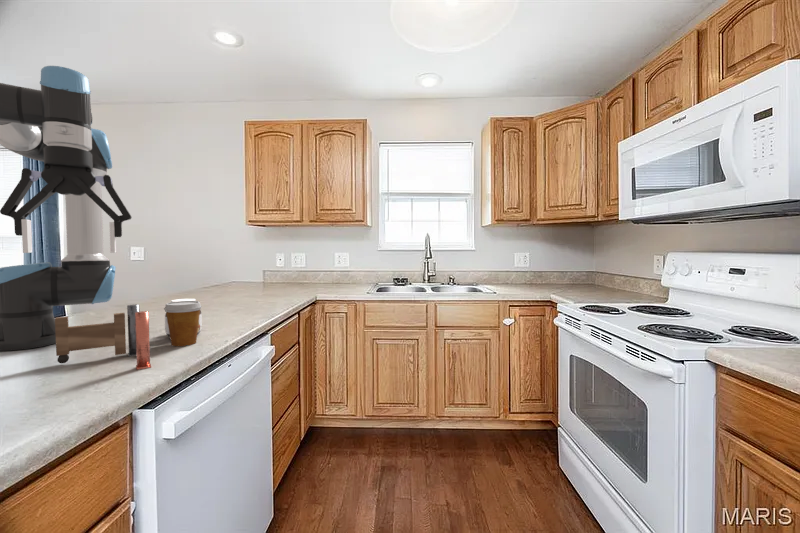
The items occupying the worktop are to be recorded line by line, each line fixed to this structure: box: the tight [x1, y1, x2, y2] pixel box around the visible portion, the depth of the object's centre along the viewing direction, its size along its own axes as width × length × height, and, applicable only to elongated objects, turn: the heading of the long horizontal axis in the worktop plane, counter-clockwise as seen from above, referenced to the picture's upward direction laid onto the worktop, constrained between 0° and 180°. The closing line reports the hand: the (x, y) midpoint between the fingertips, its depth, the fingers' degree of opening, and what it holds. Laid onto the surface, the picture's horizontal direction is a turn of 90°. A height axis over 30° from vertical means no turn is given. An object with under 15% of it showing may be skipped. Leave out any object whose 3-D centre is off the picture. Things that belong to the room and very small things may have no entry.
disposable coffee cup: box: [163, 300, 202, 347], centre depth 110 cm, size 10×10×12 cm
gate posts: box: [126, 304, 152, 371], centre depth 93 cm, size 17×4×13 cm, turn 38°
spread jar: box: [164, 298, 203, 338], centre depth 120 cm, size 12×11×12 cm
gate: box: [54, 312, 127, 364], centre depth 93 cm, size 2×13×11 cm, turn 128°
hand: (72, 252), depth 78 cm, fingers open, 13 cm apart
